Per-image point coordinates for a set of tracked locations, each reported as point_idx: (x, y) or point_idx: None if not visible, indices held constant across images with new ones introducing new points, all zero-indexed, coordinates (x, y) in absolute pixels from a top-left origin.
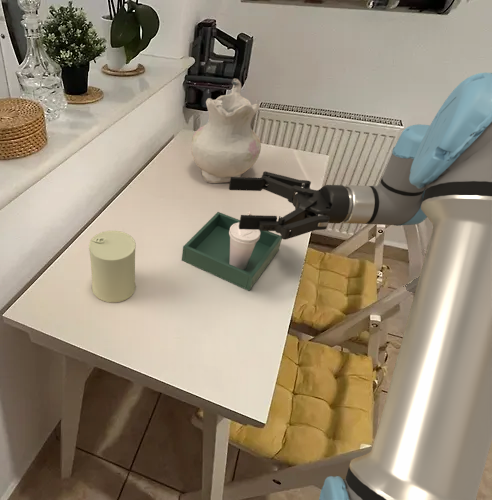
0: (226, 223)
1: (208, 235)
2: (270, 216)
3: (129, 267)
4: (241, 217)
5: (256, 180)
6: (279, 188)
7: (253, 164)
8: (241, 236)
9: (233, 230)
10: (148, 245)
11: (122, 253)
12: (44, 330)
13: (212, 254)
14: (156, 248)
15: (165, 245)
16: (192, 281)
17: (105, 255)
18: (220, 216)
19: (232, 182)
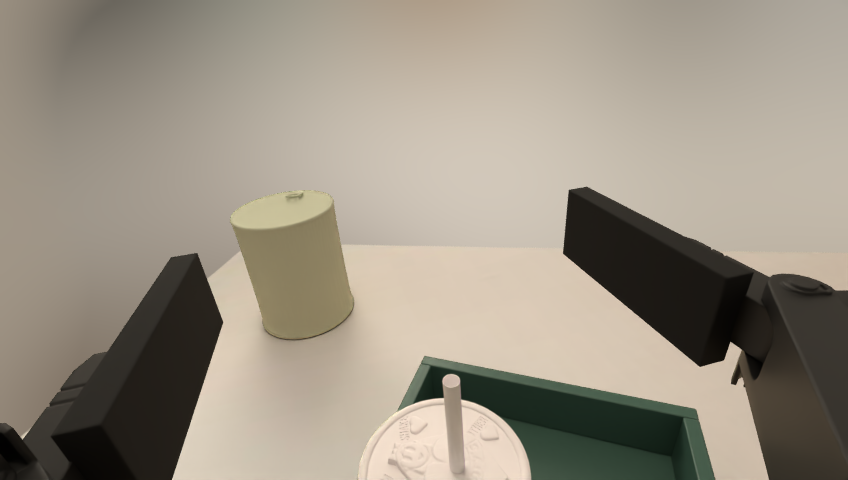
0: (683, 474)
1: (585, 438)
2: (114, 379)
3: (256, 262)
4: (173, 258)
5: (682, 261)
6: (808, 452)
7: None
8: (388, 455)
9: (429, 413)
10: (460, 322)
11: (252, 221)
12: (212, 274)
13: None
14: (455, 337)
15: (476, 350)
16: (341, 444)
17: (248, 209)
18: (682, 428)
19: (573, 214)
